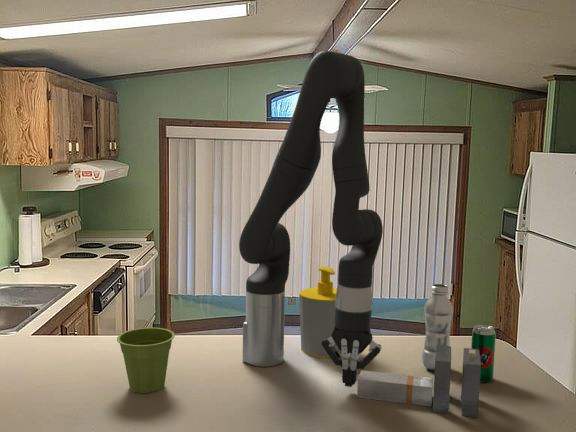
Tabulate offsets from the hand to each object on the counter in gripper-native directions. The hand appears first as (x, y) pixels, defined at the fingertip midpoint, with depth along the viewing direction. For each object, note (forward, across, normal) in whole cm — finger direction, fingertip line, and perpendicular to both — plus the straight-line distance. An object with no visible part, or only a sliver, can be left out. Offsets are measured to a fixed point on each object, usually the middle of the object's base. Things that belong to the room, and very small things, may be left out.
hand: (349, 385), depth 127 cm
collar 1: (+1, +19, +1) cm, 19 cm away
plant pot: (+3, -41, -11) cm, 43 cm away
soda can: (+1, +27, +17) cm, 32 cm away
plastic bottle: (+2, +17, +20) cm, 26 cm away
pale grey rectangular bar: (+1, +10, +1) cm, 10 cm away
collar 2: (+1, +24, +1) cm, 24 cm away
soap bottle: (+2, -11, +24) cm, 27 cm away
